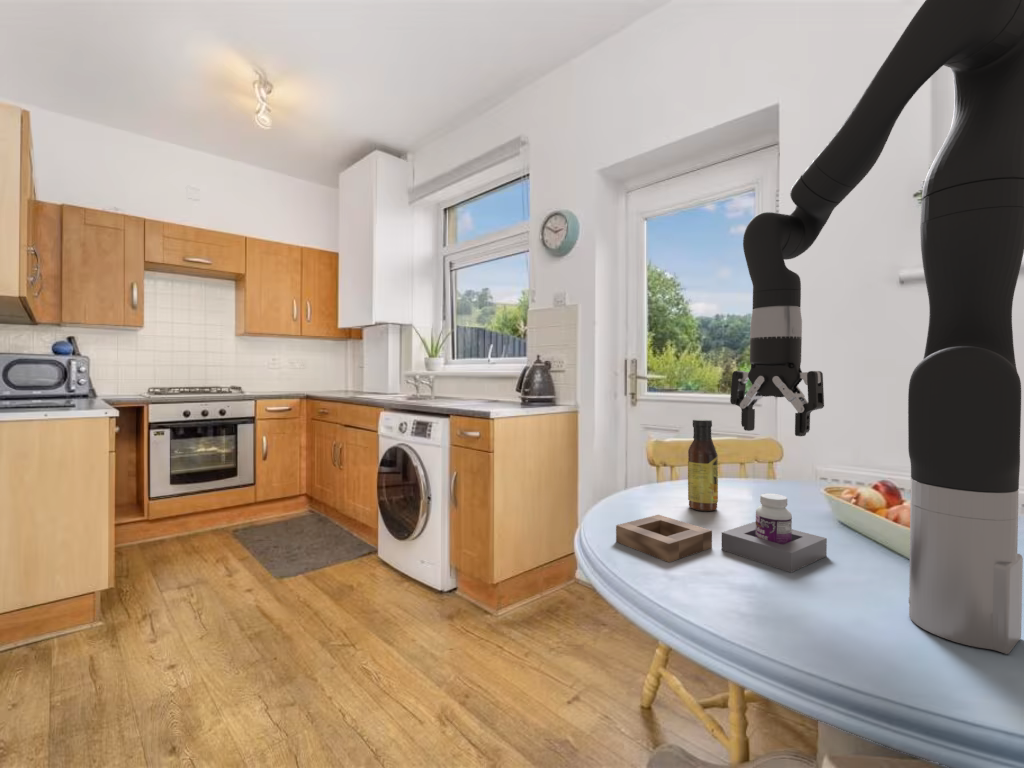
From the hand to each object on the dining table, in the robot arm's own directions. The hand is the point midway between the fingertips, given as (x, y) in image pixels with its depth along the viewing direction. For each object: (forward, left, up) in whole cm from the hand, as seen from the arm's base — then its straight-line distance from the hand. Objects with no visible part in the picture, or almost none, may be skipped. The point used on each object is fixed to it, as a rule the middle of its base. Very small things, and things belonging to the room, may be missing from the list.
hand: (773, 433), depth 81 cm
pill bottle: (0, 0, -21) cm, 21 cm away
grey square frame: (0, 0, -20) cm, 20 cm away
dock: (+13, +12, -20) cm, 27 cm away
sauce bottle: (+23, -14, -20) cm, 34 cm away
